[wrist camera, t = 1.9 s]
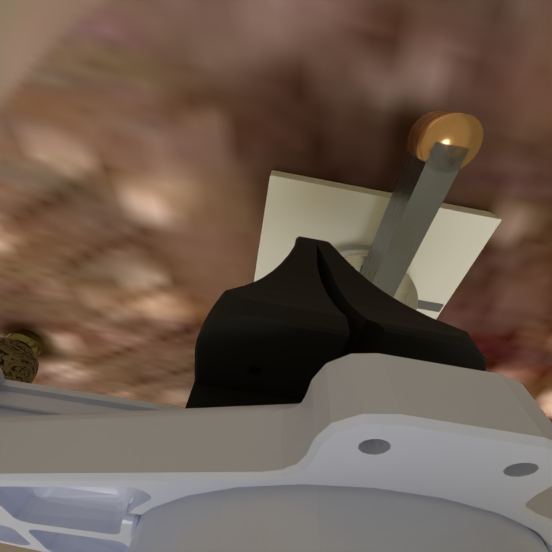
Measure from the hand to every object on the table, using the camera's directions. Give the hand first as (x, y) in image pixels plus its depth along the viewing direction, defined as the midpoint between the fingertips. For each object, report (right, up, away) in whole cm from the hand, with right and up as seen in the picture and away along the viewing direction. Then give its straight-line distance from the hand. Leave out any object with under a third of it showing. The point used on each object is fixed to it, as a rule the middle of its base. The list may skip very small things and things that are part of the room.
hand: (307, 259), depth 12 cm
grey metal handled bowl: (+6, +1, +9) cm, 10 cm away
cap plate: (+5, -1, +12) cm, 13 cm away
